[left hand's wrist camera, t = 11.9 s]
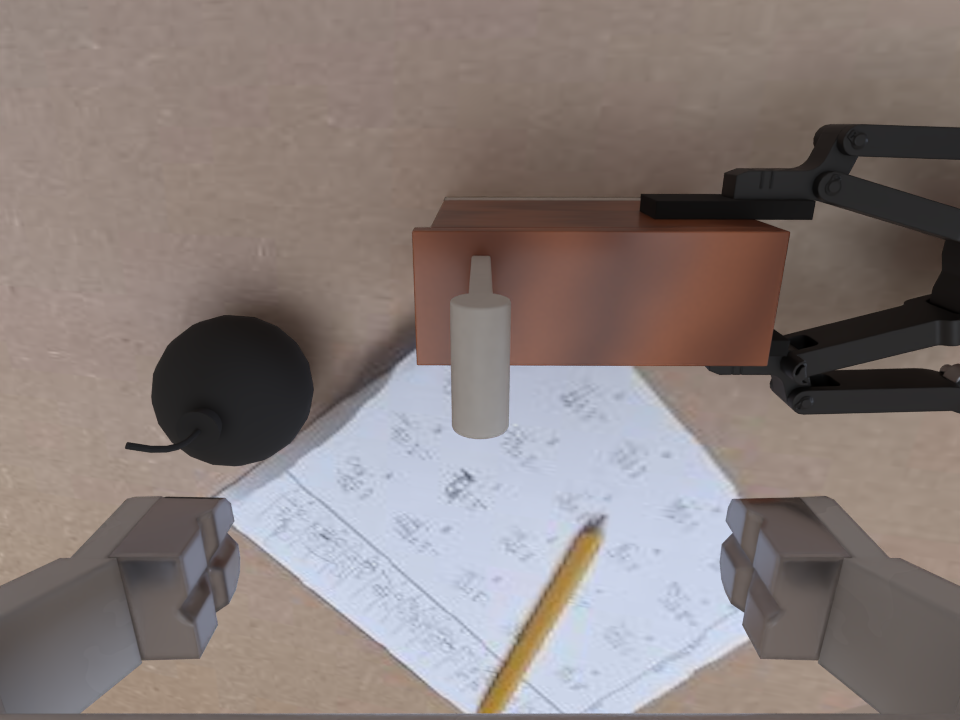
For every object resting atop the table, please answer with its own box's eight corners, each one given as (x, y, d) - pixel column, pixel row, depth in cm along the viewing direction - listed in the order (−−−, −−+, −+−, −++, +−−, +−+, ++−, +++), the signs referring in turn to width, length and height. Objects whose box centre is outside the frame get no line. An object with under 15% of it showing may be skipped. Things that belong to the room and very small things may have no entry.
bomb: (352, 346, 36) (295, 445, 25) (287, 446, 39) (208, 577, 28) (231, 271, 35) (112, 340, 24) (170, 380, 37) (35, 490, 26)
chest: (446, 293, 36) (433, 357, 26) (444, 197, 34) (429, 226, 24) (681, 294, 36) (758, 358, 26) (693, 197, 34) (780, 227, 24)
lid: (419, 357, 26) (390, 463, 18) (414, 227, 24) (380, 279, 16) (758, 358, 26) (883, 465, 18) (780, 227, 24) (931, 280, 16)
